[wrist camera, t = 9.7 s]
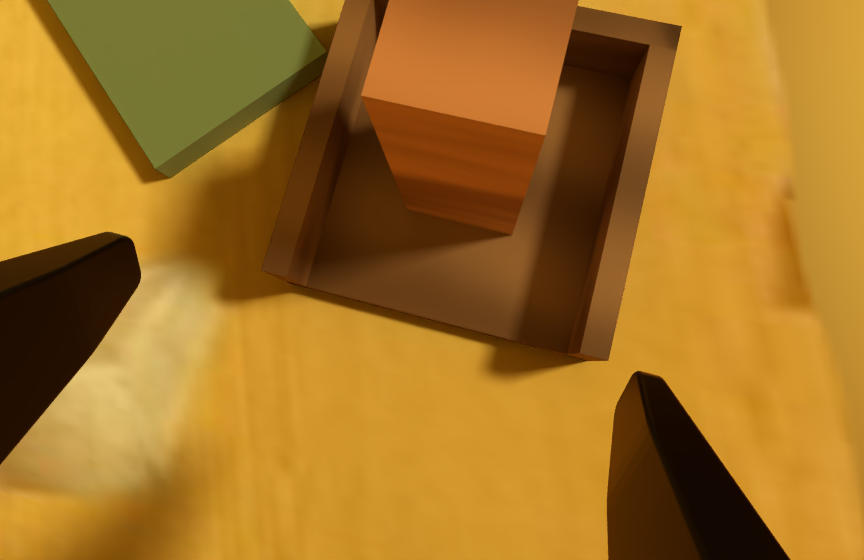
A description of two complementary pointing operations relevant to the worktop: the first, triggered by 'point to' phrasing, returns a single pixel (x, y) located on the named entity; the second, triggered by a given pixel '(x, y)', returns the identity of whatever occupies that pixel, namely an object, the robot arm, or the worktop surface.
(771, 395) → the worktop surface
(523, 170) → the block
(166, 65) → the notebook
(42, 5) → the worktop surface
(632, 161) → the tray
